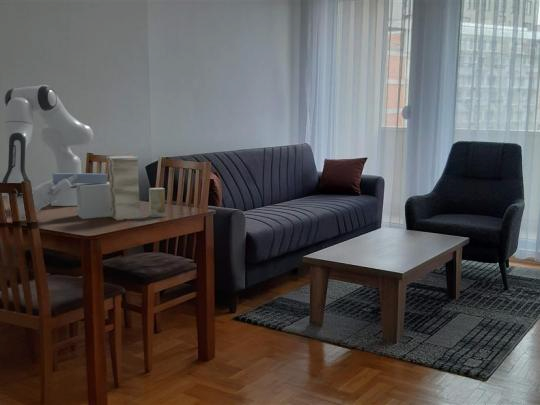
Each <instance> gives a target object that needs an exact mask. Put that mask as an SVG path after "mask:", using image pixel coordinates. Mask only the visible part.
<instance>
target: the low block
mask: <svg viewBox="0 0 540 405" xmlns="http://www.w3.org/2000/svg"><path fill="white" fill-rule="evenodd" d="M76 193H77V206H76V207H77V208H76V209H77V216H78V217H79V218H81V219H82V220H83V219H94V218H97V217H98V218H106V217H107V218H109V217H111V206H110V185H109V181H107V184H76Z"/></svg>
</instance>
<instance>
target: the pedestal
mask: <svg viewBox="0 0 540 405" xmlns="http://www.w3.org/2000/svg"><path fill="white" fill-rule="evenodd" d="M106 160H107V162H108V178H109V179H108V180H109V181H108V182H109V185H110V206H111V216H110V217H111V218H112V219H113V220H115V219H116V220H115V221H125V220H124V219H127V220H136V219H141V211H140V210H141V209H140V206H141V205H140V188H139V186H140V185H139V161H138V160H140V157H138V156H136V155H115V156H114V155H113V156H106Z"/></svg>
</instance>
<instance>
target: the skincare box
mask: <svg viewBox="0 0 540 405" xmlns="http://www.w3.org/2000/svg"><path fill="white" fill-rule="evenodd" d="M148 206H149V209H148V210H149V211H148V212H149V213H148V214H149V217H151V218H161V217H166V189H165V188H164V187H150V188H148Z"/></svg>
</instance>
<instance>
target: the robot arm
mask: <svg viewBox="0 0 540 405" xmlns="http://www.w3.org/2000/svg"><path fill="white" fill-rule="evenodd" d="M4 103H5V106H6V109H5V116H4V133H5V134H4V135H5V140H6V143H7V147H8V162H7V163H8V164H7V170H6V173H5V175H4V176H3V179H2V183H21V182H22V181H29V182H30V180H29V177H28V175H27V173H26V151H27V147H28V145H29V144H30V143H31V141H32V138H33V131H34V114H33V113H37V112H38V114H39V115H40V117H41V119H42V120H43V121H44V123H45V124H46V125H45V126H44V127H43V128H42V130H41V133H40V135H41V141H42V142H43V143H44V144H45V146H47V147H48V148H49V149H50V150H51V152H52V153H53V156H54V159H55V163H56V169H57V170H56V171H57V173H82V160H81V159H80V157H79V156H78V155H76V154H74V153H73V151H72V150H71V148H75V147H76V148H82V147H86V146H90V145H91V143H92V142H93V140H94V132H93V129H92V128H91V127H90V126H89V125H86V124H85V123H82V122H81V121H79V120H78V119H77V118H75V117H74V116H72V115H71V114H70V113H69V112H68V110H67V109H66V108H65V105H64V104H63V102H62V101H61V99H60V98H59V97H58V95H57V94H56V91H55V90H54V89H53V88H52V87H50V86H49V85H47V84H38V85H36V86H35V85H34V86H33V85H29V86H23V87H18V88H17V87H15V88H11V89H9V90H7V91H6V93H5V96H4ZM76 178H78V176H77V174H74V175H72V176H71V177H69V178H67V179H65V178H63V179H62V180H60V181H58V182H57V183H53V178H51V179H49V180H47V181H46V182H45V181H43V182H41V183H40V184H39V185H37V186H35V187H34V188H32V194H33V200H34V205H35V211H36V213H38V212H39V211H40V210H41V209H42V208H44V207H47V206H48V205H50V206H52V207H54V206H58V207H75V206H76V207H77V193H76V183H72V182H73V181H74V180H75V179H76ZM70 183H72V184H70ZM6 196H7V197H6V198H7V208H8V210H9V211H10V212H11V210H10V205H9V194H7V193H6ZM17 203H18V208H19V213H20V217H21V219H20V220H24V219H25V220H26V218H25V211H24V204H23V198H22V194H20V193H17Z"/></svg>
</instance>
